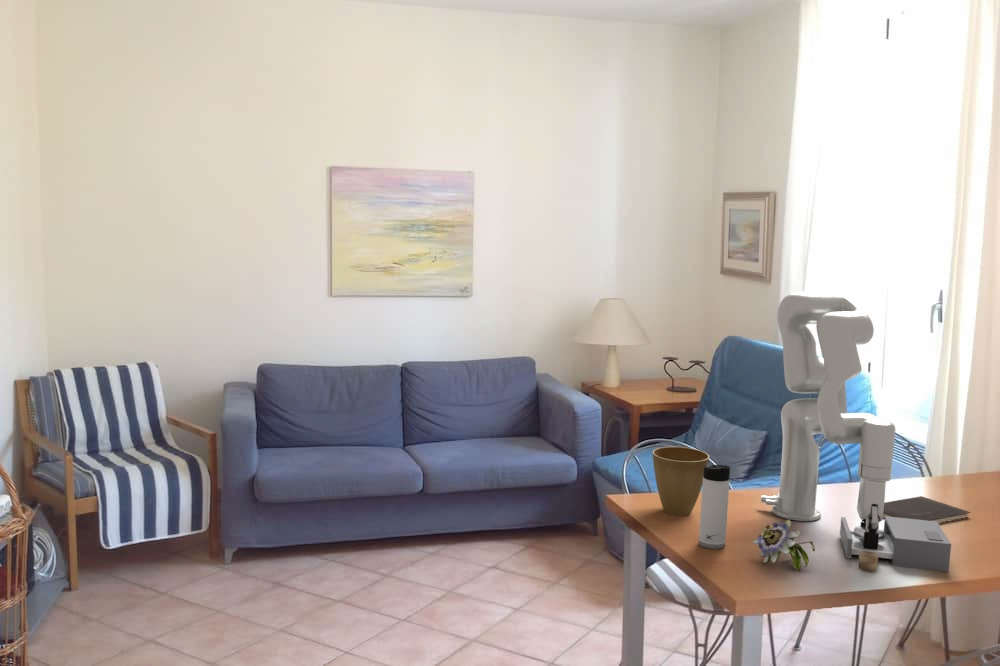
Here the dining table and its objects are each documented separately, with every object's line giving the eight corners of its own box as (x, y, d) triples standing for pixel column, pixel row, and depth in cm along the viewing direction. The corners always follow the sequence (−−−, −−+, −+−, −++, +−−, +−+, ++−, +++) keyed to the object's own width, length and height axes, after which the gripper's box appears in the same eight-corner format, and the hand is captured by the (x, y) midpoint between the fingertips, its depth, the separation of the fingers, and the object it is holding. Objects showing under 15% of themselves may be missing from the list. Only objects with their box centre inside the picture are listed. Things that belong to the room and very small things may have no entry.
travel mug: (711, 551, 229) (716, 469, 226) (693, 542, 235) (698, 462, 232) (731, 547, 232) (737, 466, 229) (713, 539, 237) (718, 460, 235)
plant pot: (640, 504, 264) (643, 447, 262) (689, 501, 268) (693, 445, 266) (664, 521, 249) (667, 461, 247) (715, 518, 254) (719, 459, 252)
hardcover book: (969, 520, 262) (970, 511, 262) (913, 531, 251) (913, 522, 251) (918, 503, 276) (919, 495, 276) (863, 513, 265) (864, 505, 265)
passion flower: (765, 585, 223) (740, 537, 227) (798, 569, 228) (773, 522, 232) (794, 573, 214) (768, 523, 217) (828, 557, 219) (802, 508, 223)
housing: (892, 565, 224) (895, 537, 223) (882, 541, 240) (885, 515, 239) (948, 571, 221) (951, 543, 220) (934, 547, 237) (937, 520, 236)
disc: (855, 540, 230) (855, 533, 230) (852, 531, 237) (852, 524, 237) (886, 543, 228) (887, 537, 228) (882, 534, 235) (883, 527, 235)
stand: (859, 570, 219) (860, 556, 219) (857, 564, 223) (858, 550, 223) (877, 573, 218) (879, 558, 218) (875, 566, 222) (877, 552, 222)
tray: (846, 557, 226) (848, 538, 226) (839, 534, 242) (841, 516, 242) (902, 563, 223) (903, 544, 223) (891, 540, 240) (893, 522, 239)
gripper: (854, 461, 240) (848, 530, 242) (862, 479, 223) (855, 553, 225) (886, 464, 238) (880, 534, 240) (896, 482, 221) (890, 557, 223)
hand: (868, 542), depth 233 cm, fingers closed on disc, 6 cm apart
